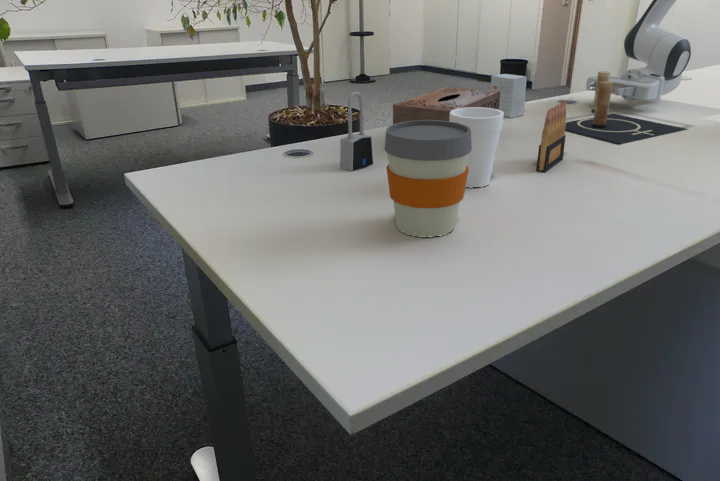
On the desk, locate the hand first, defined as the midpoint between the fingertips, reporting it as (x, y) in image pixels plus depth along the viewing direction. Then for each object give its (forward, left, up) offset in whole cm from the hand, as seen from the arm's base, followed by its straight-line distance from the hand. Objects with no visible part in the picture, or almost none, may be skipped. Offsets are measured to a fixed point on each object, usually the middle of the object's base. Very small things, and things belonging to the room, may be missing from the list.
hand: (602, 89), depth 152 cm
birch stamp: (0, 0, -6) cm, 6 cm away
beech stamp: (-13, +16, -6) cm, 21 cm away
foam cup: (-28, +68, -6) cm, 74 cm away
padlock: (-7, +82, -6) cm, 82 cm away
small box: (+12, +24, -6) cm, 27 cm away
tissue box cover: (-1, +54, -6) cm, 54 cm away
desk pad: (-16, +12, -6) cm, 21 cm away
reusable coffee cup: (-40, +88, -6) cm, 96 cm away
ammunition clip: (-28, +48, -6) cm, 56 cm away
